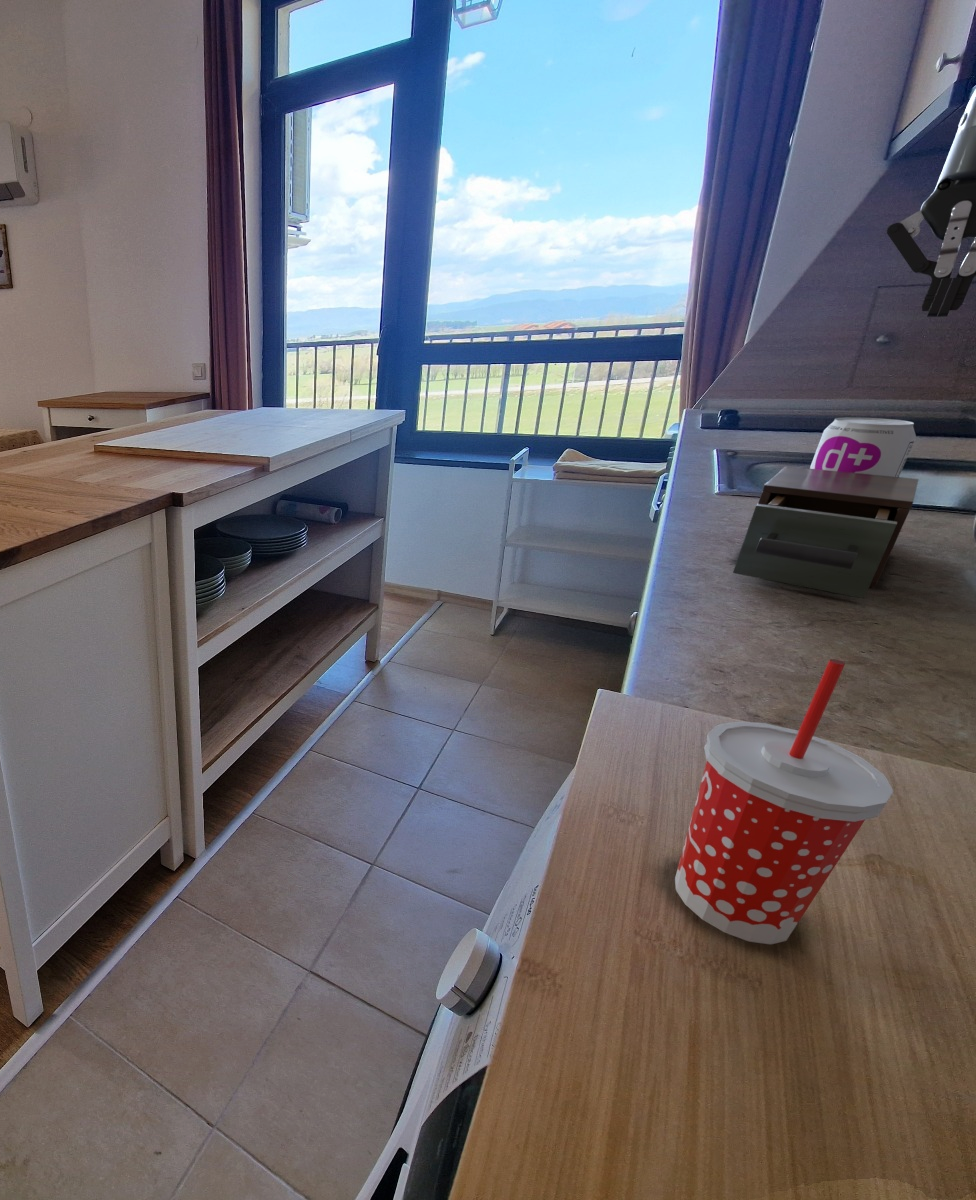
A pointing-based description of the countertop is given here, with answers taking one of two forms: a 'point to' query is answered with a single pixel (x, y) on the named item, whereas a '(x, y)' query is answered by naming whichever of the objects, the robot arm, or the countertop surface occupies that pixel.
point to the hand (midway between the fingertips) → (936, 316)
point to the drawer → (816, 543)
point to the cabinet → (848, 494)
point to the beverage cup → (773, 821)
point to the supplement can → (865, 446)
